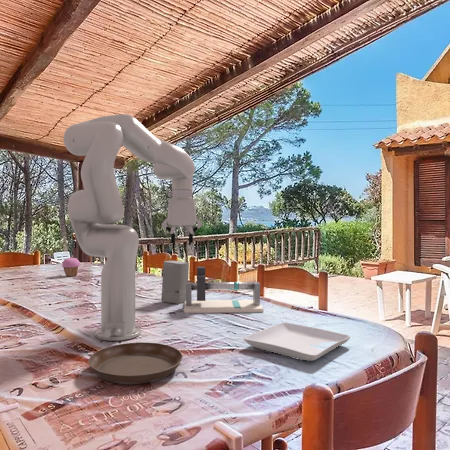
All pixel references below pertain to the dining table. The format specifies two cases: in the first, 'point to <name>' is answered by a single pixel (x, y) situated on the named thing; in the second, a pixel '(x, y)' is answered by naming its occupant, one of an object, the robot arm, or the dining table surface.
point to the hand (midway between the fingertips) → (182, 244)
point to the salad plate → (295, 340)
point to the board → (222, 306)
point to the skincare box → (174, 281)
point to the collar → (200, 283)
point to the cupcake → (71, 266)
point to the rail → (225, 286)
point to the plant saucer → (135, 362)
